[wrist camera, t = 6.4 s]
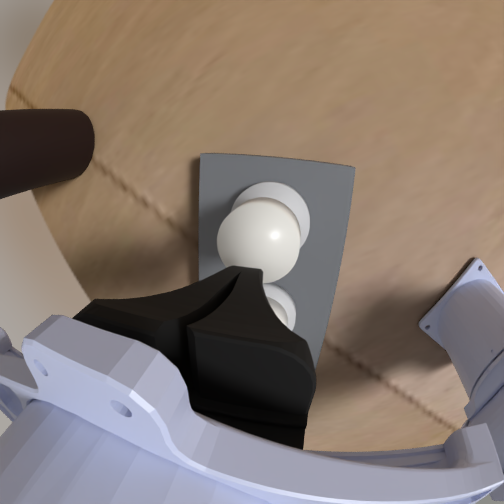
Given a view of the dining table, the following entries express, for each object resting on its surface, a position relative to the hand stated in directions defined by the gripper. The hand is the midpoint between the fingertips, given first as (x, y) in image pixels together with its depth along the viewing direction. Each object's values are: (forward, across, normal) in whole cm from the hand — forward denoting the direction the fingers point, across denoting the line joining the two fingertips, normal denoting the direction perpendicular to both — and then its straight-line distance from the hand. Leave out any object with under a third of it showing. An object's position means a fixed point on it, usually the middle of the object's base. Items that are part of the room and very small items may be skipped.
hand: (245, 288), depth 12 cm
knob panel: (+9, 0, +6) cm, 11 cm away
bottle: (+10, +19, -7) cm, 23 cm away
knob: (+4, 0, -1) cm, 4 cm away
